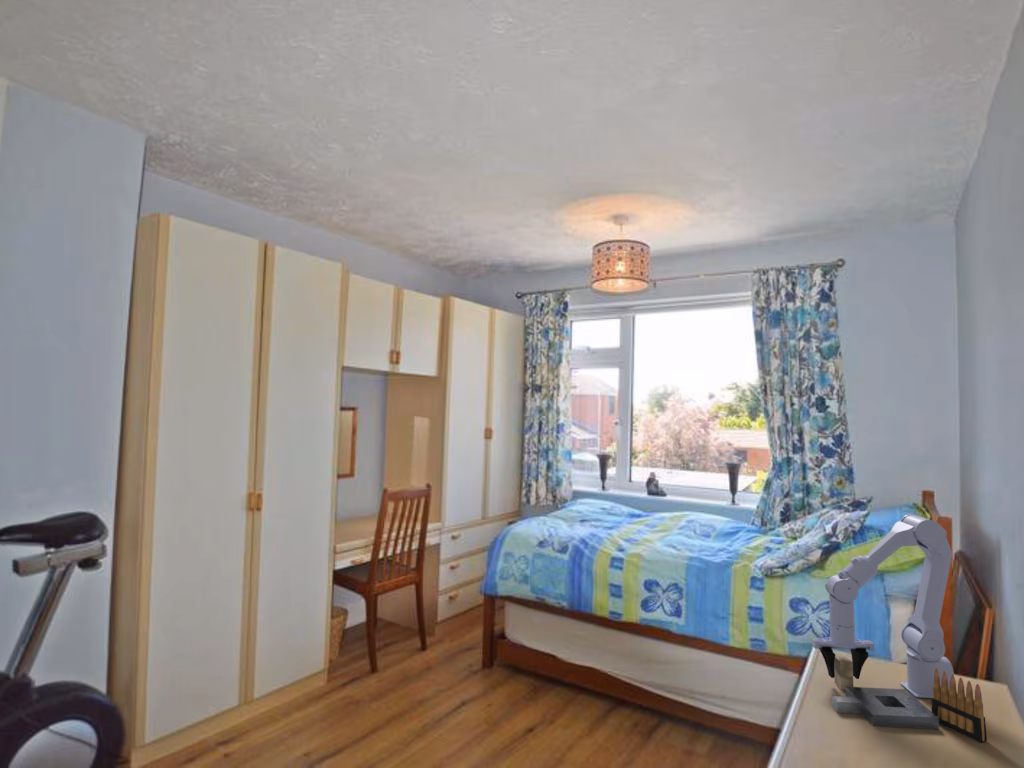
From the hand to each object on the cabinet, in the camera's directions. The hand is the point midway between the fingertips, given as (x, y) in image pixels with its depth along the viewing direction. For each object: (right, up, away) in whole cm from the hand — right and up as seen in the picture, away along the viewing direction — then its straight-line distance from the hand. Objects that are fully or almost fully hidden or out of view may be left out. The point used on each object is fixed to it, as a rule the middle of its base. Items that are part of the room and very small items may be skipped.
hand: (843, 676), depth 156 cm
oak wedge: (0, -2, 0) cm, 2 cm away
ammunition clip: (+14, -2, -22) cm, 26 cm away
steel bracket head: (+1, -2, -13) cm, 13 cm away
